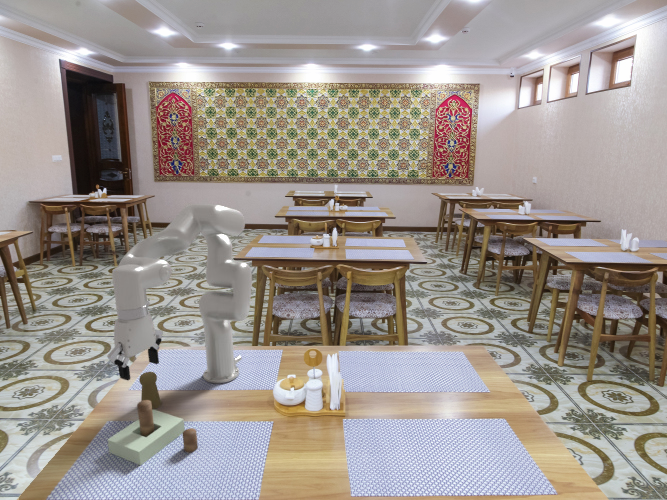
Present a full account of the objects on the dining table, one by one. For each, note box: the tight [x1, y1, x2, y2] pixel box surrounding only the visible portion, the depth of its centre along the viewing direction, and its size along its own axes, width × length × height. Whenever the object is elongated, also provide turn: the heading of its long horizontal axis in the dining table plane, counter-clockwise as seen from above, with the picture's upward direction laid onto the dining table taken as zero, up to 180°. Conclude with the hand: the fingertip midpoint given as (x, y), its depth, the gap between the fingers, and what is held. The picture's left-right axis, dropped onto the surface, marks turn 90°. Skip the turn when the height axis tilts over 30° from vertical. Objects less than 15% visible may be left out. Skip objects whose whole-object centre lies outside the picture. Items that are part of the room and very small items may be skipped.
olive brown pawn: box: [138, 371, 162, 410], centre depth 148 cm, size 6×6×11 cm
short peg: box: [182, 427, 198, 454], centre depth 127 cm, size 4×4×5 cm
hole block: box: [107, 409, 186, 466], centre depth 131 cm, size 16×12×4 cm
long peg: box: [136, 400, 154, 437], centre depth 130 cm, size 4×4×12 cm
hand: (140, 370), depth 126 cm, fingers open, 9 cm apart
